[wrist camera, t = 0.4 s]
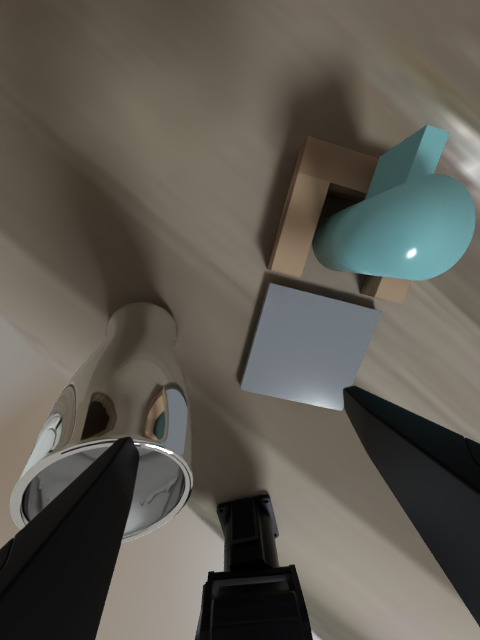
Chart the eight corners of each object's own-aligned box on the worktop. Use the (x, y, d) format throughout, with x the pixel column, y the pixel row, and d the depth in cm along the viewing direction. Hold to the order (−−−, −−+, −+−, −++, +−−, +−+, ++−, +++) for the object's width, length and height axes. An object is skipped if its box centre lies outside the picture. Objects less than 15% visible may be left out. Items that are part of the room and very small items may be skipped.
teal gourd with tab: (357, 276, 23) (448, 290, 14) (305, 262, 23) (361, 266, 13) (391, 183, 21) (525, 121, 12) (335, 166, 21) (427, 86, 11)
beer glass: (85, 313, 21) (-55, 495, 8) (163, 285, 22) (155, 407, 8) (126, 373, 24) (76, 571, 11) (192, 346, 25) (219, 503, 12)
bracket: (384, 299, 24) (401, 304, 21) (266, 268, 23) (271, 270, 20) (427, 190, 22) (452, 182, 19) (299, 150, 20) (308, 135, 18)
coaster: (337, 405, 27) (341, 410, 26) (239, 384, 26) (240, 389, 25) (375, 309, 24) (381, 311, 23) (268, 281, 23) (270, 282, 22)
